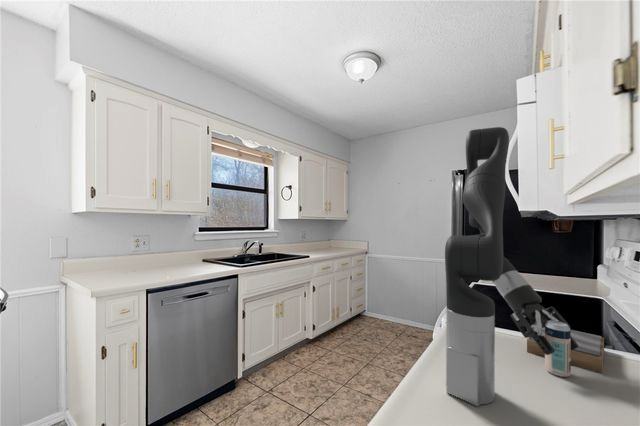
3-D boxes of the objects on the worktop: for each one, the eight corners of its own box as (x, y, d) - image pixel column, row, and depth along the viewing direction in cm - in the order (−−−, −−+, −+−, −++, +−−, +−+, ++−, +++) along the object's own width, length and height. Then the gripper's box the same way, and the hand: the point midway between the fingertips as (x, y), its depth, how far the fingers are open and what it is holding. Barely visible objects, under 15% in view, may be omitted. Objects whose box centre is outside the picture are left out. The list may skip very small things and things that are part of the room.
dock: (602, 373, 69) (602, 356, 69) (526, 351, 80) (526, 337, 80) (604, 350, 82) (603, 336, 82) (538, 334, 92) (538, 322, 92)
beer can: (560, 368, 71) (560, 320, 71) (576, 379, 66) (575, 327, 67) (540, 367, 72) (540, 319, 72) (554, 377, 67) (553, 326, 67)
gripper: (506, 285, 74) (555, 348, 63) (544, 282, 79) (595, 340, 68) (488, 300, 79) (530, 361, 68) (524, 296, 84) (570, 353, 73)
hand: (563, 351), depth 68 cm, fingers open, 8 cm apart
